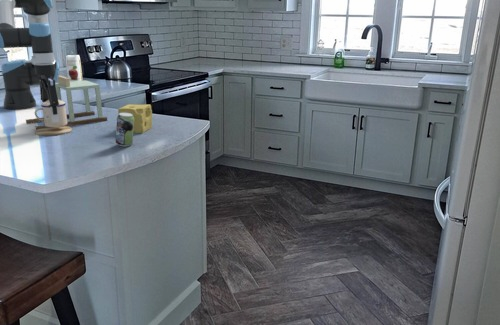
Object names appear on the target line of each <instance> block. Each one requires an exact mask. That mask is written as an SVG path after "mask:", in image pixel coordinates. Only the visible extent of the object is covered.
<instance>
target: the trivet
mask: <svg viewBox="0 0 500 325" xmlns="http://www.w3.org/2000/svg"><path fill="white" fill-rule="evenodd" d="M72 131H73V129H72V126H61V127H47V128H40V129H37V130H36V129H35V130H34V133H35V135H37V136H40V137H55V136H61V135H66V134H70V133H71V132H72ZM65 133H66V134H65Z"/></svg>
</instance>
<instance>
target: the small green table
mask: <svg viewBox="0 0 500 325" xmlns="http://www.w3.org/2000/svg"><path fill="white" fill-rule="evenodd" d="M57 78H58V83H55V87H56V92H57V97H58V100H60V101H63V100H62V93H61V89H62V90H64V91H65V94H66V100H67V108H68V109H67V110H68V114H69V118H68V119H69V122H75V121H76V120H75V118H74V113H75V112H74V111H75V110H74V104H73V96H72V91H79V90H83V97H84V107H85V112H90V111H91V106H90V104H91V103H90V96H89V89H94V91H95V92H94V93H95V101H96V110H97V118H103V117H104V116H103V105H102V97H101V85H100V84H99V83H95V82H92V81H89V80H87V79H86V80H84V79H83V80H82V81H73V82H70V81H69V78H68V76H67V77H66V76H64V75H59V76H57Z"/></svg>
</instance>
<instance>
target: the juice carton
mask: <svg viewBox="0 0 500 325" xmlns="http://www.w3.org/2000/svg"><path fill="white" fill-rule="evenodd" d="M81 62H82V61H81V57H80V54H73V55H72V54H71V55H70V54H69V55H66V56H65V66H66V74H67V78H69V81H70V82H73V81H84V79H83V71H82V63H81Z"/></svg>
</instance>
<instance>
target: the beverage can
mask: <svg viewBox="0 0 500 325" xmlns="http://www.w3.org/2000/svg"><path fill="white" fill-rule="evenodd" d="M133 130H134V117H133V114H131V113H119V115H117V117H116V128H115V144H117V145H118V146H120V147H130V146H131V145H132V144H133V141H134V132H133Z"/></svg>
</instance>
